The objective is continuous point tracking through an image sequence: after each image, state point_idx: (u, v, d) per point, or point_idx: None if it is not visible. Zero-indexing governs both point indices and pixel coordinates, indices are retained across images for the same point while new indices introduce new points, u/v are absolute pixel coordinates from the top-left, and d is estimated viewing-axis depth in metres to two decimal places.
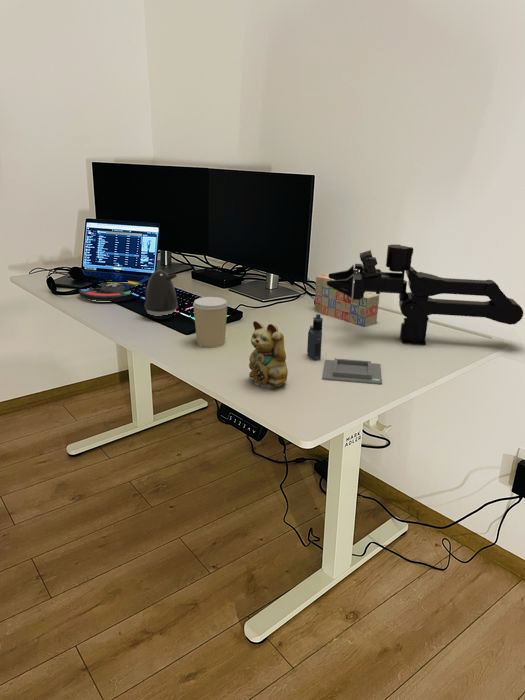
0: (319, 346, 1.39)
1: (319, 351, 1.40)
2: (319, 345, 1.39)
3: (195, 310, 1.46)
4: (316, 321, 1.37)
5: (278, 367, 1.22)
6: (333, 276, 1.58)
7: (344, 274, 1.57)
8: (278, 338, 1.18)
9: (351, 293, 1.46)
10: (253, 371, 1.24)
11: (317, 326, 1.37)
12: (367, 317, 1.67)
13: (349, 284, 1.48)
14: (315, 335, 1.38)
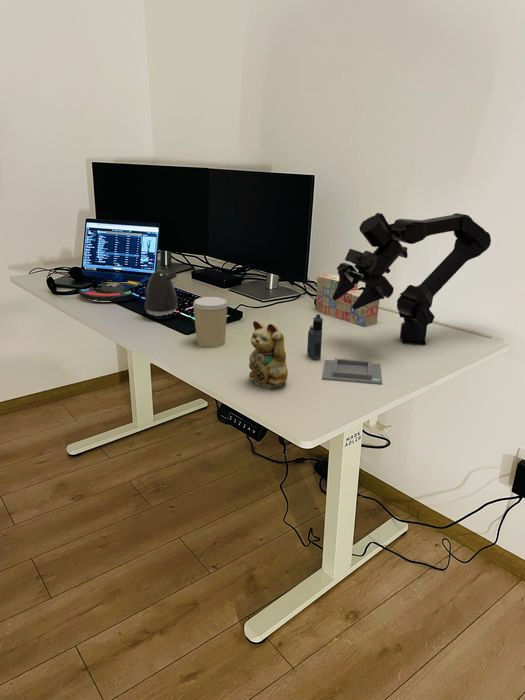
0: (319, 346, 1.39)
1: (319, 351, 1.40)
2: (319, 345, 1.39)
3: (195, 310, 1.46)
4: (316, 321, 1.37)
5: (278, 367, 1.22)
6: (337, 295, 1.45)
7: (343, 285, 1.45)
8: (278, 338, 1.18)
9: (382, 295, 1.36)
10: (253, 371, 1.24)
11: (317, 326, 1.37)
12: (367, 317, 1.67)
13: (371, 290, 1.36)
14: (315, 335, 1.38)
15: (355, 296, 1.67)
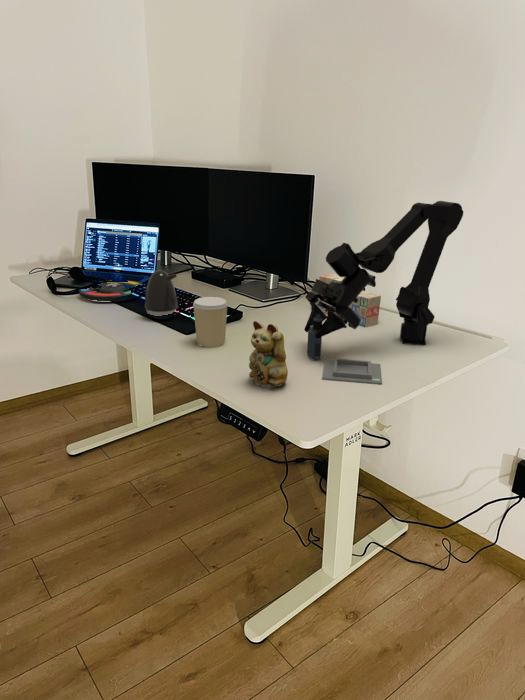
0: (319, 346, 1.39)
1: (319, 351, 1.40)
2: (319, 345, 1.39)
3: (195, 310, 1.46)
4: (316, 321, 1.37)
5: (278, 367, 1.22)
6: (309, 327, 1.42)
7: (314, 316, 1.42)
8: (278, 338, 1.18)
9: (344, 324, 1.36)
10: (253, 371, 1.24)
11: (317, 326, 1.37)
12: (367, 318, 1.67)
13: (333, 319, 1.36)
14: None
15: None
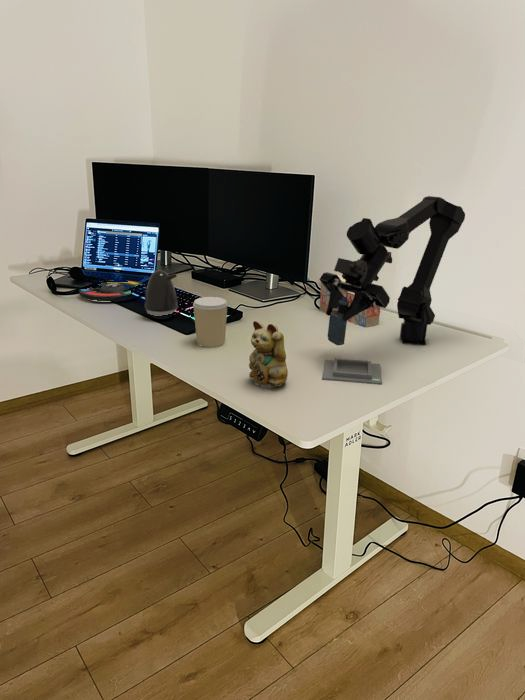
0: (344, 330, 1.32)
1: (343, 335, 1.33)
2: (344, 329, 1.32)
3: (195, 310, 1.46)
4: (343, 304, 1.28)
5: (278, 367, 1.22)
6: (331, 310, 1.33)
7: (335, 298, 1.34)
8: (278, 338, 1.18)
9: (372, 304, 1.29)
10: (253, 371, 1.24)
11: (344, 309, 1.29)
12: (368, 318, 1.66)
13: (360, 299, 1.29)
14: (341, 319, 1.30)
15: None
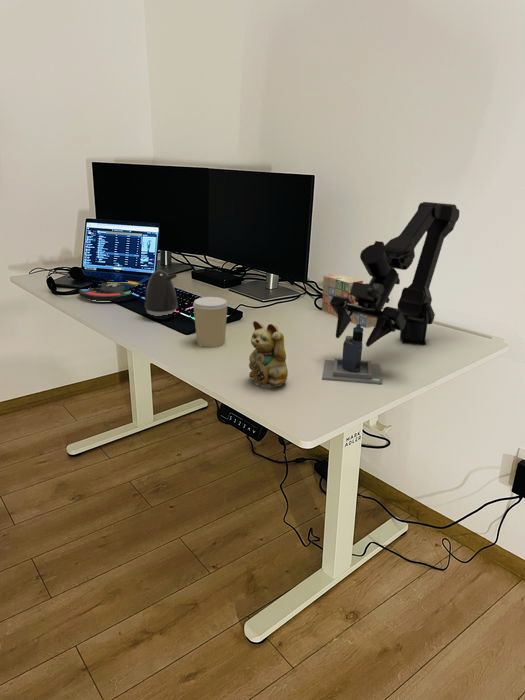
0: (359, 357, 1.31)
1: (359, 363, 1.32)
2: (359, 356, 1.31)
3: (195, 310, 1.46)
4: (358, 332, 1.28)
5: (278, 367, 1.22)
6: (340, 333, 1.33)
7: (343, 320, 1.33)
8: (278, 338, 1.18)
9: (394, 328, 1.28)
10: (253, 371, 1.24)
11: (359, 337, 1.29)
12: (368, 318, 1.66)
13: None
14: (357, 346, 1.29)
15: None
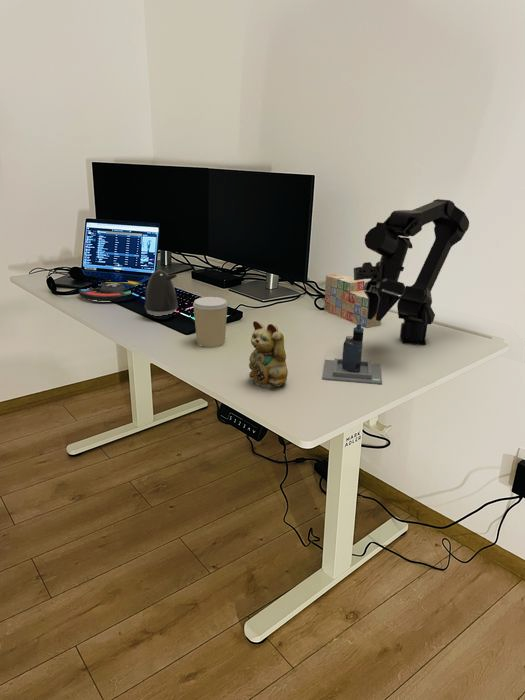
0: (359, 357, 1.31)
1: (359, 363, 1.32)
2: (360, 356, 1.31)
3: (195, 310, 1.46)
4: (358, 332, 1.28)
5: (278, 367, 1.22)
6: (371, 314, 1.43)
7: (372, 302, 1.43)
8: (278, 338, 1.18)
9: (396, 295, 1.30)
10: (253, 371, 1.24)
11: (359, 337, 1.29)
12: None
13: (385, 296, 1.32)
14: (357, 346, 1.29)
15: (358, 296, 1.67)
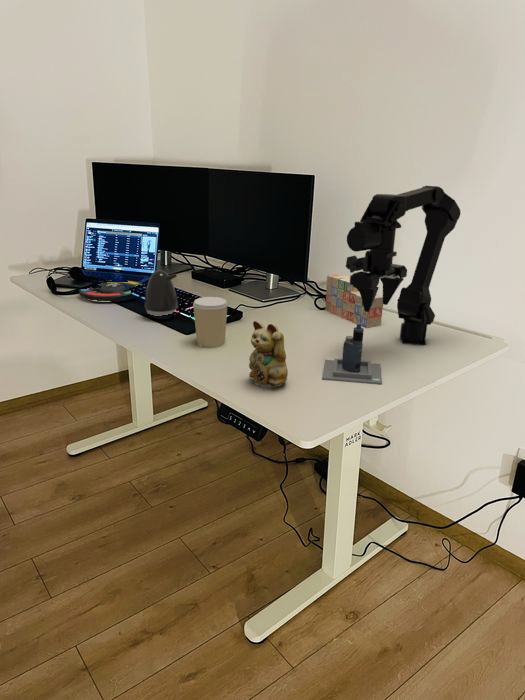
0: (359, 357, 1.31)
1: (359, 363, 1.32)
2: (360, 356, 1.31)
3: (195, 310, 1.46)
4: (359, 332, 1.28)
5: (278, 367, 1.22)
6: (385, 299, 1.43)
7: (385, 287, 1.42)
8: (278, 338, 1.18)
9: (367, 288, 1.31)
10: (253, 371, 1.24)
11: (359, 337, 1.29)
12: (369, 318, 1.66)
13: None
14: (357, 346, 1.29)
15: (358, 296, 1.67)
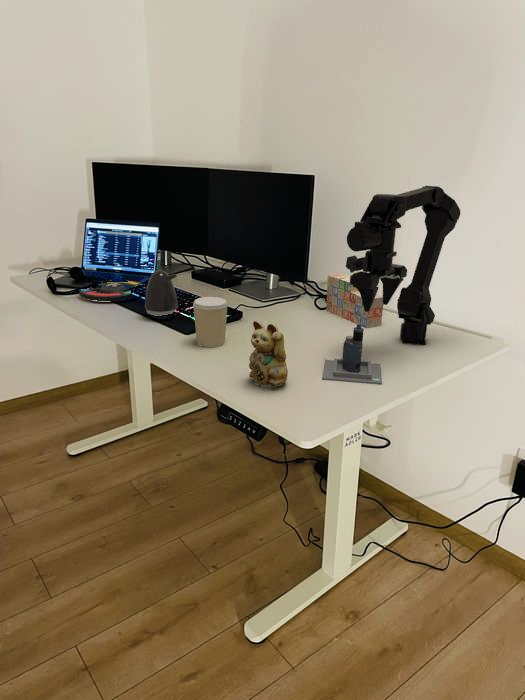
0: (359, 357, 1.31)
1: (359, 363, 1.32)
2: (360, 356, 1.31)
3: (195, 310, 1.46)
4: (358, 332, 1.28)
5: (278, 367, 1.22)
6: (385, 299, 1.43)
7: (385, 287, 1.42)
8: (278, 338, 1.18)
9: (367, 288, 1.31)
10: (253, 371, 1.24)
11: (359, 337, 1.29)
12: (369, 318, 1.66)
13: None
14: (357, 346, 1.29)
15: (358, 296, 1.67)
